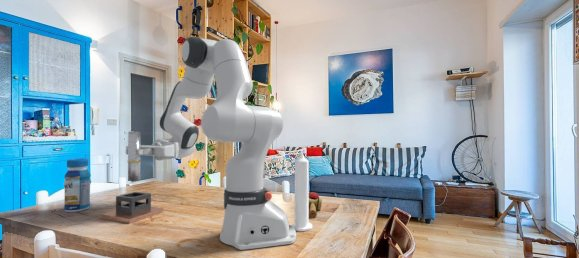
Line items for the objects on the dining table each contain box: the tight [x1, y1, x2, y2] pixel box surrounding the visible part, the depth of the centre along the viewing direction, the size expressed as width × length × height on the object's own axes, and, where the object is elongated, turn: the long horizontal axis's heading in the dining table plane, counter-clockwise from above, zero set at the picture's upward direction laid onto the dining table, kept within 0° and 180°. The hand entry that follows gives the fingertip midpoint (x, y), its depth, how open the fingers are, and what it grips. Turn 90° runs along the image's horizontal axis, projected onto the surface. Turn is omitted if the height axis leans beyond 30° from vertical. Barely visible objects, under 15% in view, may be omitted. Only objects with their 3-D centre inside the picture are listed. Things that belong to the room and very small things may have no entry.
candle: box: [290, 150, 313, 232], centre depth 87 cm, size 7×7×25 cm
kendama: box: [308, 191, 323, 218], centre depth 106 cm, size 8×6×18 cm
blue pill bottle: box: [63, 158, 92, 213], centre depth 107 cm, size 8×8×20 cm
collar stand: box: [101, 191, 164, 224], centre depth 99 cm, size 14×14×8 cm
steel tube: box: [127, 131, 142, 182], centre depth 100 cm, size 4×4×18 cm
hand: (132, 151), depth 99 cm, fingers closed on steel tube, 4 cm apart
